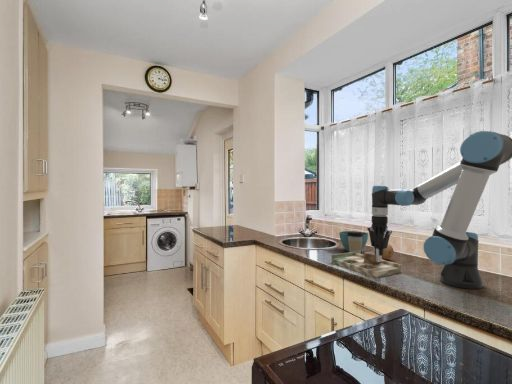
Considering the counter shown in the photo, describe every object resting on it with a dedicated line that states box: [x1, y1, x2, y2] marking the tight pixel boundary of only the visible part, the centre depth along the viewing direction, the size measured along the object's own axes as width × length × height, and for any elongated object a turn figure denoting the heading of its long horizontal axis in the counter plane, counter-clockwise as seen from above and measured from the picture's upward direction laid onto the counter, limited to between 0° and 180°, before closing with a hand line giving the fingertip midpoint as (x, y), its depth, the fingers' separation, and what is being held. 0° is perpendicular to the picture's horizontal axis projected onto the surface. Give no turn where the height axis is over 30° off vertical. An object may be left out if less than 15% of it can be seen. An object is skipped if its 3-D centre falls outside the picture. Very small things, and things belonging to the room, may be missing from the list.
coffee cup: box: [347, 230, 363, 254], centre depth 167 cm, size 9×9×15 cm
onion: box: [382, 243, 395, 261], centre depth 160 cm, size 10×10×10 cm
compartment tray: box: [331, 251, 402, 279], centre depth 144 cm, size 29×18×4 cm, turn 29°
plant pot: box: [338, 230, 369, 253], centre depth 182 cm, size 18×18×12 cm
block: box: [363, 251, 381, 265], centre depth 144 cm, size 6×6×5 cm
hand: (378, 261), depth 140 cm, fingers closed
